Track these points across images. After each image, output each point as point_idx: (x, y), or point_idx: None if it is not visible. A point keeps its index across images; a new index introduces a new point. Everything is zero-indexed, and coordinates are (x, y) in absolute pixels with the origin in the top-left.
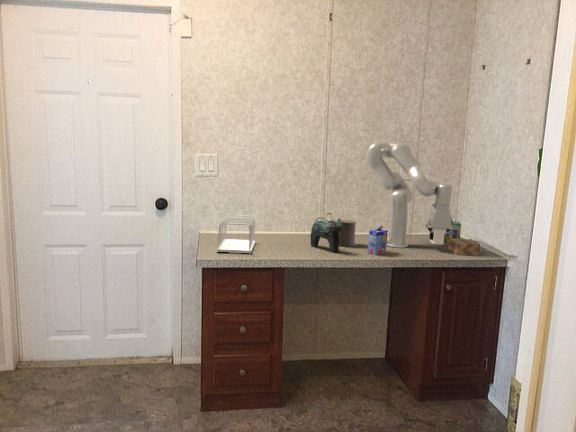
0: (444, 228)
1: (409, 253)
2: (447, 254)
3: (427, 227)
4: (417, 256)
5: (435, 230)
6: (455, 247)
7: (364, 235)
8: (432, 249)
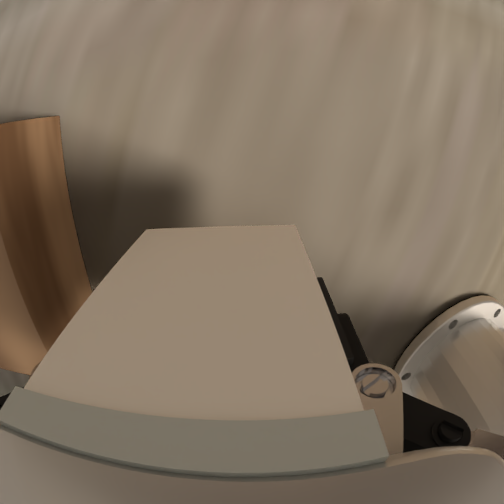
0: (22, 436)
1: (487, 138)
2: (139, 109)
3: (487, 441)
4: (459, 38)
5: (346, 386)
6: (26, 170)
7: None
8: None
